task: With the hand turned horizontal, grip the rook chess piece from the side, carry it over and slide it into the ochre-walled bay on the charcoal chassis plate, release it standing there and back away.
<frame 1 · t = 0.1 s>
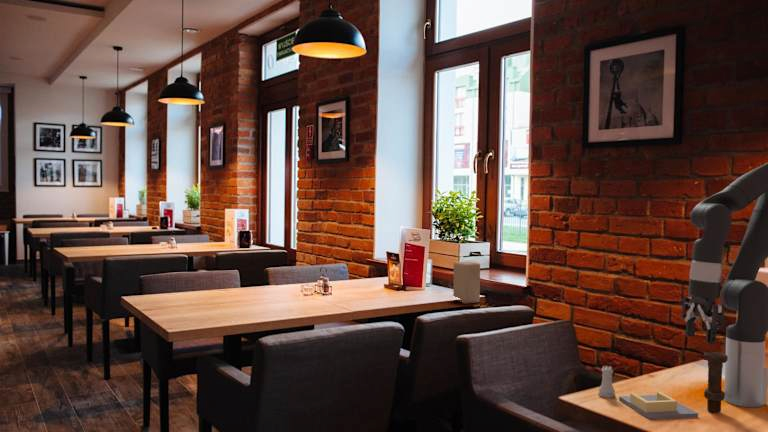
hand: (699, 339, 171), 17 cm above the table, tool pointing down, fingers open, 8 cm apart
bolt: (713, 412, 166), on the table
chassis: (657, 408, 169), on the table
rook chess piece: (606, 396, 179), on the table
block: (466, 302, 328), on the table
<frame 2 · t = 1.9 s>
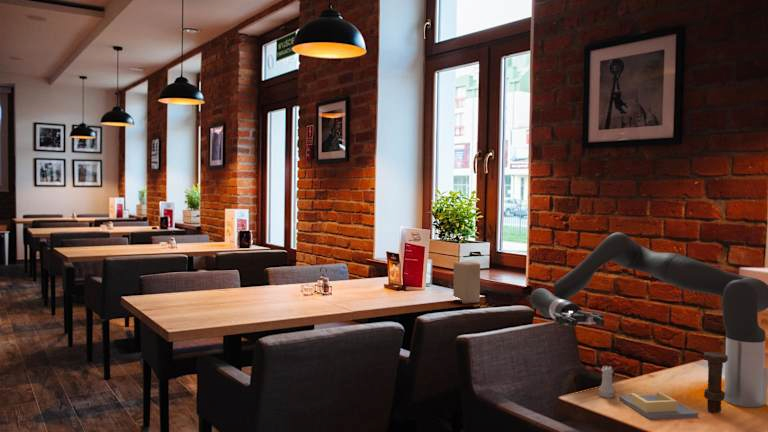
hand: (589, 323, 189), 18 cm above the table, tool horizontal, fingers open, 8 cm apart
nothing on the table moved.
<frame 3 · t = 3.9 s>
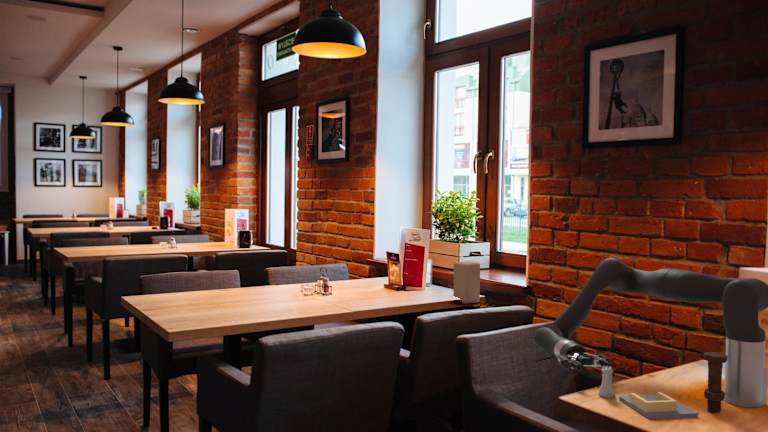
hand: (595, 367, 186), 6 cm above the table, tool horizontal, fingers open, 8 cm apart
nothing on the table moved.
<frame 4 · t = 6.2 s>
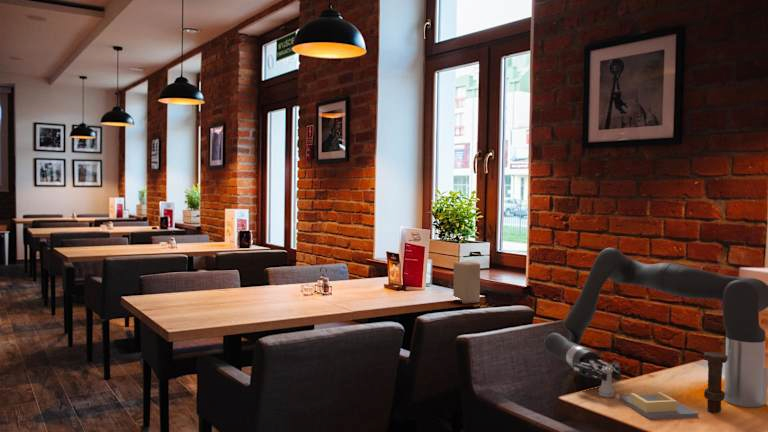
hand: (612, 376, 176), 6 cm above the table, tool horizontal, fingers closed on rook chess piece, 3 cm apart
rook chess piece: (606, 396, 179), on the table, touching gripper
everything else where it was.
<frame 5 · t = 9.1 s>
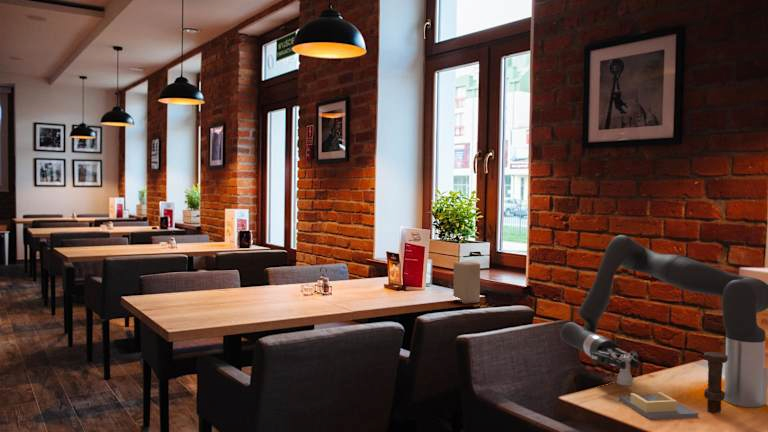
hand: (630, 365, 178), 9 cm above the table, tool horizontal, fingers closed on rook chess piece, 3 cm apart
rook chess piece: (624, 384, 181), point 3 cm above the table, touching gripper
everything else where it was.
when the fingers open (9 cm above the table, at t = 11.9 s): rook chess piece drops 2 cm, resting on chassis.
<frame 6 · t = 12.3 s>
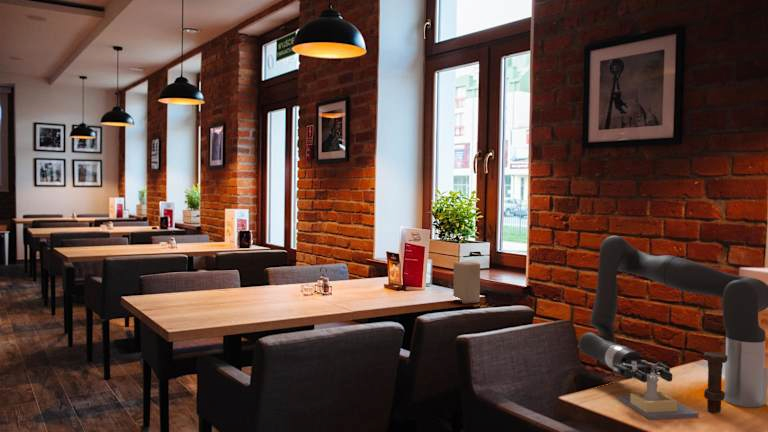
hand: (658, 378, 165), 9 cm above the table, tool horizontal, fingers open, 6 cm apart
rook chess piece: (651, 406, 167), point 1 cm above the table, touching chassis
everything else where it was.
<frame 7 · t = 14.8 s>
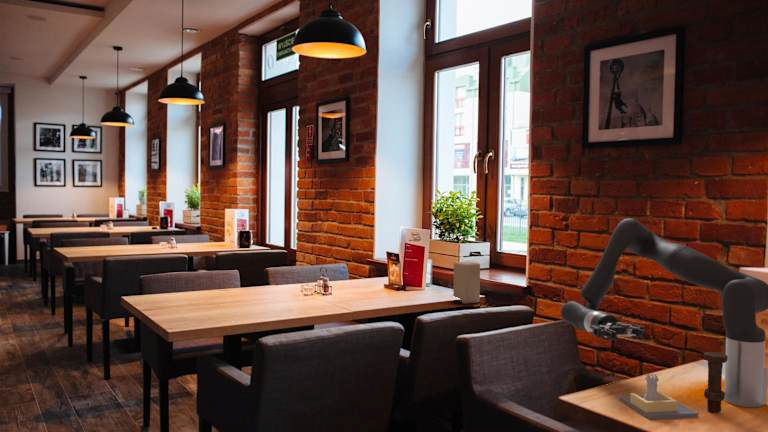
hand: (630, 335, 179), 17 cm above the table, tool horizontal, fingers open, 8 cm apart
nothing on the table moved.
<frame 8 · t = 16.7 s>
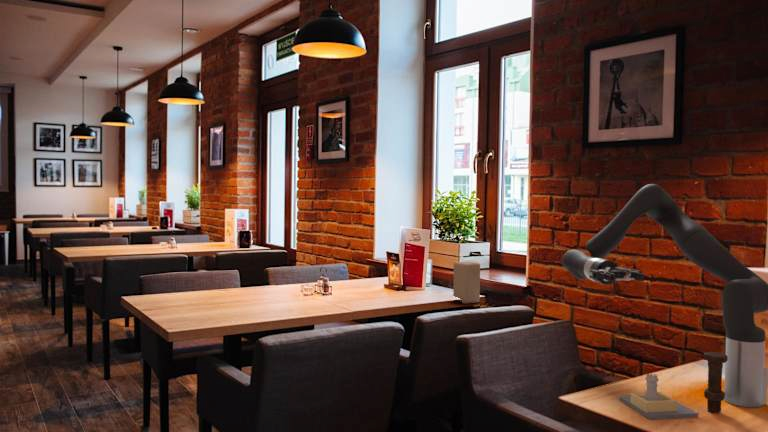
hand: (628, 277, 183), 32 cm above the table, tool horizontal, fingers open, 8 cm apart
nothing on the table moved.
at the end: rook chess piece 0.2 cm from the target spot on the chassis, point 0.8 cm above the chassis's base; rook chess piece tilted 0°; the gripper is holding nothing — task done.
